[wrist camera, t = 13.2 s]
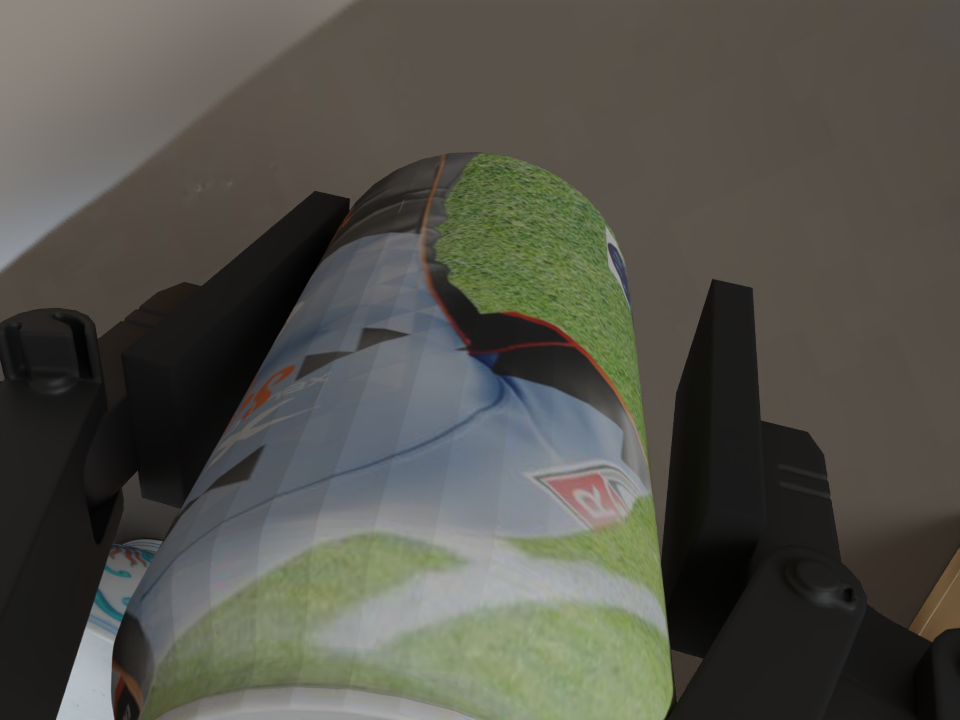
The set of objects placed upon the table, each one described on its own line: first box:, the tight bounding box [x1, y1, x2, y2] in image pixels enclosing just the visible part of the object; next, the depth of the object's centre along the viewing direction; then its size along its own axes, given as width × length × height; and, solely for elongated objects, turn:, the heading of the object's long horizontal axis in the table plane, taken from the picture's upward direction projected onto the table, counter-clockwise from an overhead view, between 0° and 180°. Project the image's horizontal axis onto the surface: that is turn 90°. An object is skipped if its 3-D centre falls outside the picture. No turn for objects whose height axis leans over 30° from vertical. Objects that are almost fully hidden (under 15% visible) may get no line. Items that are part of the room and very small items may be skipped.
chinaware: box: [56, 539, 163, 720], centre depth 36 cm, size 15×15×8 cm
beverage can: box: [111, 152, 677, 720], centre depth 12 cm, size 6×7×12 cm
